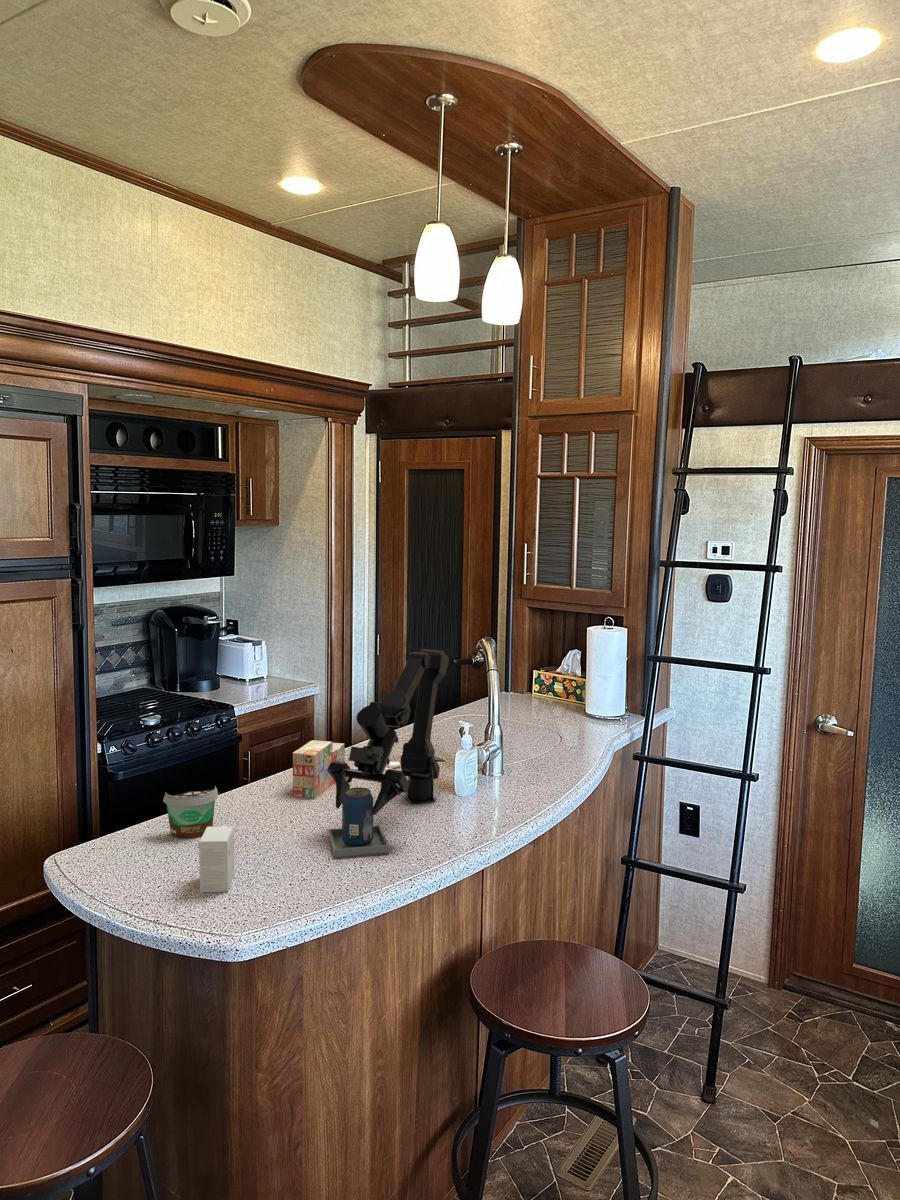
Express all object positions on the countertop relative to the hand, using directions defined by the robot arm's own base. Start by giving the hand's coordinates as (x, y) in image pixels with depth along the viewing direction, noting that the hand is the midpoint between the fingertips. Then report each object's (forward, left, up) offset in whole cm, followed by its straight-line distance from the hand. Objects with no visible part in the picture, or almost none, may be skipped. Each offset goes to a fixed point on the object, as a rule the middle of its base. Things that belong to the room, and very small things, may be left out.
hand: (355, 810), depth 185 cm
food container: (+35, -15, -9) cm, 39 cm away
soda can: (-1, -1, -8) cm, 8 cm away
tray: (-1, -1, -9) cm, 9 cm away
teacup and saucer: (-16, -56, -9) cm, 59 cm away
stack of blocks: (+4, -44, -9) cm, 45 cm away
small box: (+29, +12, -9) cm, 33 cm away
